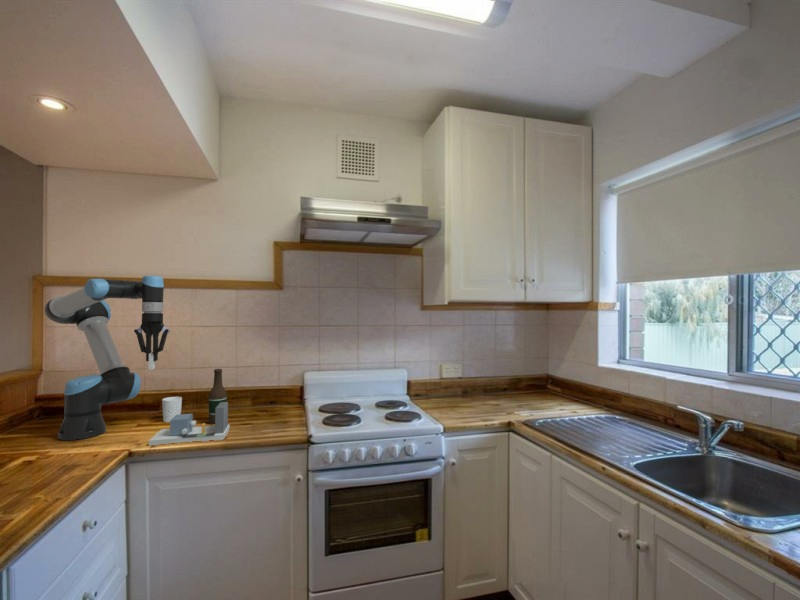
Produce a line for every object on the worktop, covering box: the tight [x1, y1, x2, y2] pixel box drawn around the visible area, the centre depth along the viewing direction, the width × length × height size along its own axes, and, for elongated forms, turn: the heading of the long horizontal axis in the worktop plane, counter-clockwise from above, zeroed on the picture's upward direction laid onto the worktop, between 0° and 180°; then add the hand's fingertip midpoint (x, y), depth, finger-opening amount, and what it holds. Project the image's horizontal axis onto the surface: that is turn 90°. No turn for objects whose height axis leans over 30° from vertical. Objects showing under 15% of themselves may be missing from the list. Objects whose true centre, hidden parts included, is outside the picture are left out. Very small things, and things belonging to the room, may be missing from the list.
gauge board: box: [148, 401, 231, 446], centre depth 154 cm, size 26×14×12 cm, turn 105°
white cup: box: [161, 396, 183, 423], centre depth 177 cm, size 8×8×10 cm
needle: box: [201, 422, 206, 434], centre depth 150 cm, size 1×2×4 cm, turn 15°
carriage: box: [169, 413, 197, 436], centre depth 152 cm, size 8×11×6 cm
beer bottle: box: [208, 368, 227, 425], centre depth 174 cm, size 8×8×24 cm
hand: (151, 368), depth 160 cm, fingers closed
